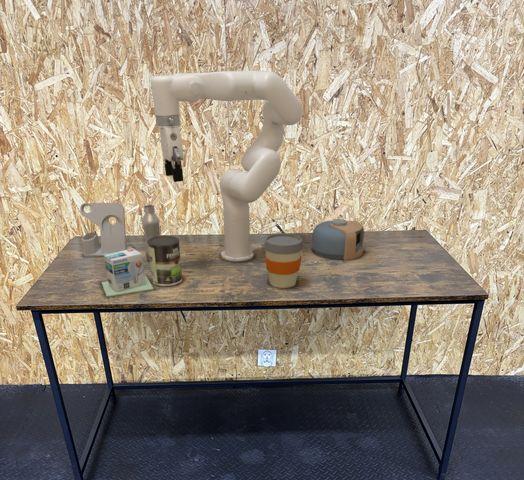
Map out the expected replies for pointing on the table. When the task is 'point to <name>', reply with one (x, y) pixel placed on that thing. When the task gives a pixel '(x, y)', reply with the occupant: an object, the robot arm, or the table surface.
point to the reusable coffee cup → (283, 259)
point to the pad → (112, 292)
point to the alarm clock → (338, 239)
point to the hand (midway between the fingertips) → (174, 178)
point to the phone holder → (105, 229)
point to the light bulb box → (124, 269)
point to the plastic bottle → (150, 225)
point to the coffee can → (165, 260)
